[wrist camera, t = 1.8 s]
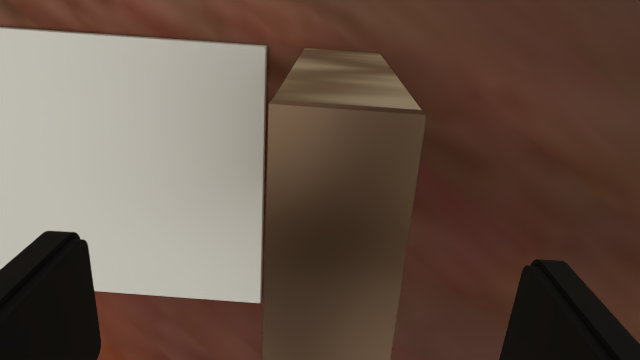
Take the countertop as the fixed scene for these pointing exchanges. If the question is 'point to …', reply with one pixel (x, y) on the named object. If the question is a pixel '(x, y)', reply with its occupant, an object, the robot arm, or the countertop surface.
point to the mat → (137, 158)
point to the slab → (338, 206)
